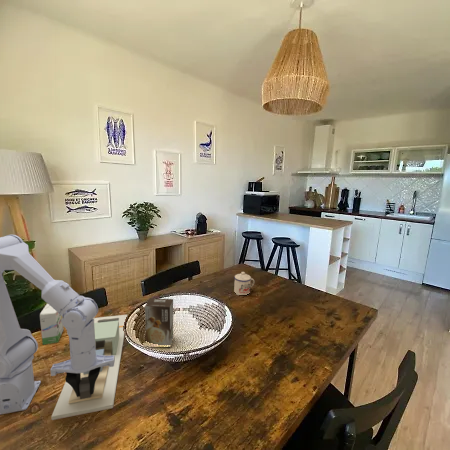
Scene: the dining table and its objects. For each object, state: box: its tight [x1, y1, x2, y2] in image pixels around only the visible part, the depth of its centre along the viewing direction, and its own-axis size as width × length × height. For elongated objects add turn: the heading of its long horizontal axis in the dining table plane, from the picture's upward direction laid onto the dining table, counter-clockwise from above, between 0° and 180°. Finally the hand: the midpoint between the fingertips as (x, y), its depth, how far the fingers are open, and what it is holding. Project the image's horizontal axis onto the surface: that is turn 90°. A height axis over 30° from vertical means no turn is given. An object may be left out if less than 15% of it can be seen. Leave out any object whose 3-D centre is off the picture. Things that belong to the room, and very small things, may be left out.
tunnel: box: [94, 320, 119, 355], centre depth 88 cm, size 10×11×8 cm
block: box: [83, 349, 104, 374], centre depth 78 cm, size 5×5×4 cm
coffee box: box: [144, 297, 174, 346], centre depth 93 cm, size 9×6×16 cm
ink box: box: [39, 303, 64, 345], centre depth 94 cm, size 8×5×12 cm, turn 19°
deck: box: [51, 314, 128, 421], centre depth 87 cm, size 46×14×1 cm, turn 16°
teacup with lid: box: [233, 271, 255, 296], centre depth 138 cm, size 12×9×12 cm
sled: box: [68, 340, 113, 404], centre depth 78 cm, size 24×8×5 cm, turn 16°
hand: (85, 392), depth 68 cm, fingers closed on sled, 2 cm apart
